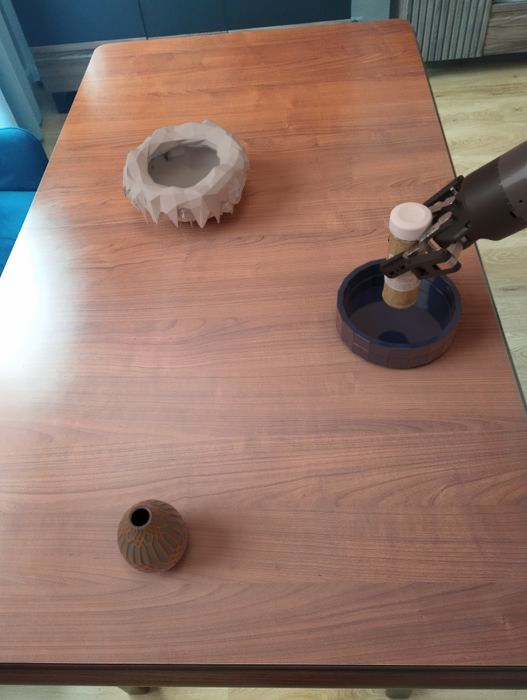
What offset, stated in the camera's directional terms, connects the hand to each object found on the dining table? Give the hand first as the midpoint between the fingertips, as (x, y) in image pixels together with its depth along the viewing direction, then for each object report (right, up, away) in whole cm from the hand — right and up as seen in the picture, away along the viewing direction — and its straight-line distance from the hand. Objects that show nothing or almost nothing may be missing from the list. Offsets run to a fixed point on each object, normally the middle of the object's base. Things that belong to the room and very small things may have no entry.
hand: (389, 257), depth 69 cm
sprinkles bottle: (+2, -4, +5) cm, 7 cm away
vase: (-26, -32, -7) cm, 42 cm away
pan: (+3, -7, +9) cm, 12 cm away
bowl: (-26, +13, +28) cm, 40 cm away
